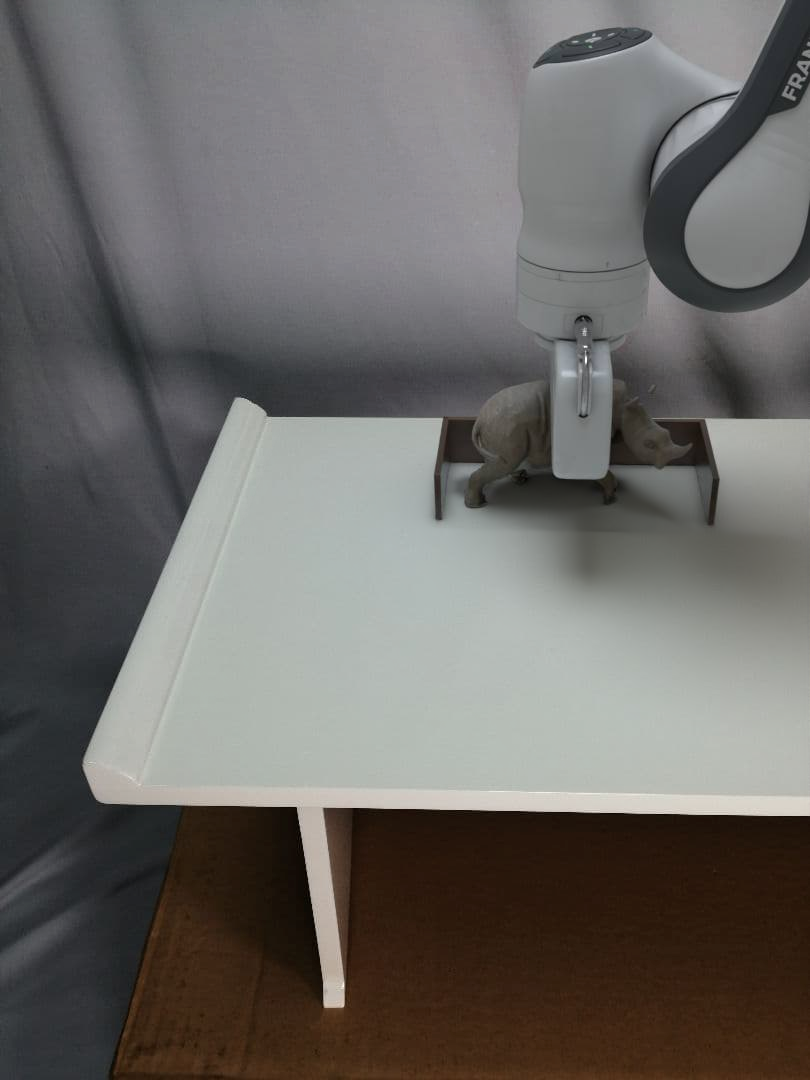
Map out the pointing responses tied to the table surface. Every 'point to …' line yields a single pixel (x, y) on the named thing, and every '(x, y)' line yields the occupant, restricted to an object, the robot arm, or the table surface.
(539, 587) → the table surface
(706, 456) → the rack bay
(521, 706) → the table surface
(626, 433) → the rhinoceros figurine
